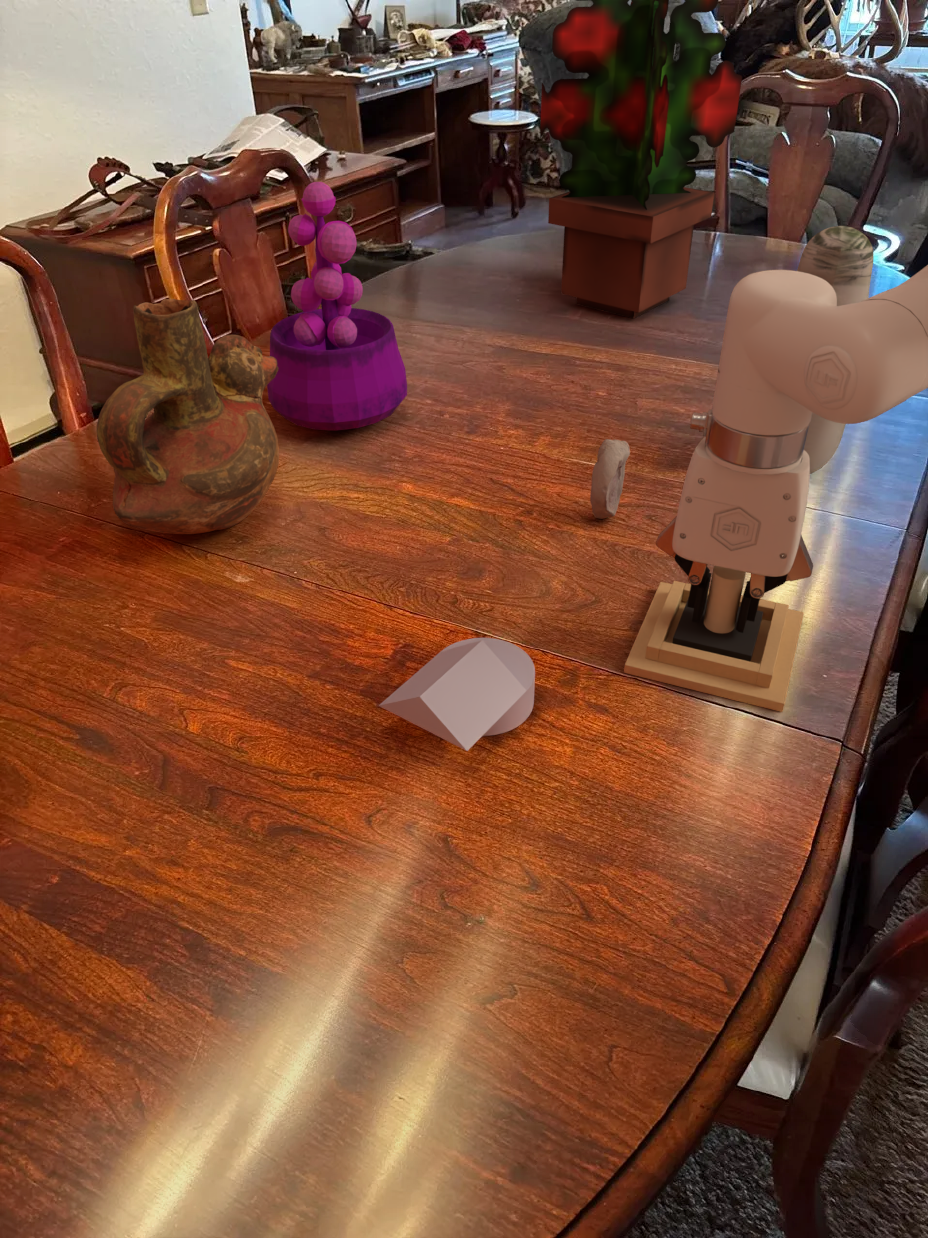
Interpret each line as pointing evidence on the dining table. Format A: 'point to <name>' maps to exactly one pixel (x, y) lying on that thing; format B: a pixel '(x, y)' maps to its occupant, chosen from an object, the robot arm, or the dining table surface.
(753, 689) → the base pad
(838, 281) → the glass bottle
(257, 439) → the ceramic vessel
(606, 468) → the fossil
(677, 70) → the potted plant
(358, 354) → the decorative plant
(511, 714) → the wedge on round base
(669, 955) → the dining table surface
